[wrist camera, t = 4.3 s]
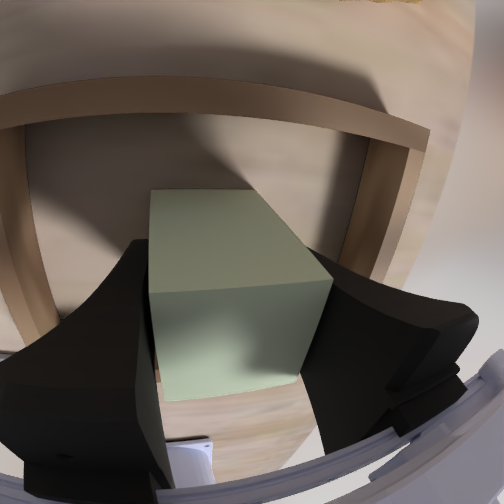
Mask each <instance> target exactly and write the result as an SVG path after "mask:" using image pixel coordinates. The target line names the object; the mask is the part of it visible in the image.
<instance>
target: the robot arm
mask: <svg viewBox="0 0 504 504" xmlns="http://www.w3.org/2000/svg"><path fill="white" fill-rule="evenodd" d="M307 248H308V247H307ZM308 250H309V251H310V252H311V253H312V254H313V255H314V257H315V258H316V259H317V260H318V261H319V262H320V264H321V265H322V266H323V267H324V268H325V269H326V271H327V272H328V273H329V274H330V275H331V276H332V278H333V283H332V286H331V289H330V292H329V294H328V297H327V300H326V303H325V306H324V309H323V312H322V315H321V317H320V320H319V323H318V326H317V328H316V331H315V334H314V336H313V339H312V342H311V344H310V347H309V349H308V352H307V355H306V357H305V360H304V362H303V365H302V367H301V370H300V374H301V376H302V379H303V382H304V385H305V387H306V390H307V393H308V396H309V399H310V402H311V405H312V408H313V412H314V415H315V418H316V421H317V425H318V428H319V432H320V436H321V440H322V444H323V448H324V452H325V456H322V457H320V458H317V459H314V460H311V461H308V462H305V463H302V464H299V465H296V466H292V467H288V468H285V469H281V470H278V471H274V472H270V473H266V474H262V475H258V476H254V477H249V478H245V479H240V480H235V481H229V482H224V483H218V484H216V482H215V479H214V476H213V472H212V469H211V464H212V445H213V442H212V439H209V438H207V439H199V440H190V441H181V442H169V443H166V442H165V437H164V431H163V426H162V420H161V413H160V407H159V400H158V392H157V385H156V374H155V340H154V332H153V325H152V317H151V308H150V299H149V239H135V240H133V241H132V242H131V243H130V245H129V246H128V248H127V250H126V251H125V253H124V254H123V256H122V257H121V258H120V260H119V261H118V263H117V264H116V265H115V267H114V268H113V269H112V271H111V272H110V273H109V275H108V276H107V277H106V278H105V280H104V281H103V282H102V283H101V284H100V286H99V287H98V288H97V289H96V290H95V291H94V292H93V294H92V295H91V296H90V297H89V298H88V299H87V300H86V301H85V302H84V303H83V304H82V305H81V306H80V307H78V308H77V309H76V310H75V311H74V312H73V313H71V314H70V315H69V316H68V317H67V318H65V319H64V320H63V321H62V322H61V323H60V324H58V325H57V326H56V327H54V328H53V329H52V330H50V331H49V332H48V333H46V334H45V335H43V336H42V337H40V338H39V339H38V340H36V341H35V342H33V343H32V344H30V345H28V346H27V347H25V348H24V349H22V350H20V351H18V352H17V353H15V354H13V355H11V356H10V357H8V358H6V359H5V360H3V361H1V362H0V442H1V443H2V444H3V445H5V446H6V447H7V448H8V449H9V450H10V451H12V452H13V453H14V454H16V456H18V457H19V458H20V459H22V460H23V461H24V479H22V478H18V477H14V476H10V475H6V474H2V473H0V504H262V503H266V502H270V501H274V500H277V499H281V498H284V497H288V496H291V495H294V494H297V493H300V492H303V491H306V490H309V489H312V488H315V487H317V486H320V485H323V484H325V483H327V482H330V481H333V480H335V479H338V478H340V477H342V476H345V475H347V474H349V473H352V472H354V471H356V470H358V469H360V468H363V467H364V466H367V465H369V464H370V463H373V462H375V461H377V460H379V459H380V458H383V457H385V456H386V455H388V454H390V453H392V452H394V451H395V450H397V449H399V448H401V447H402V446H404V445H406V444H408V443H409V442H410V444H409V445H408V446H407V447H405V448H404V449H402V450H401V451H400V452H399V453H398V454H397V455H396V456H395V457H393V458H392V459H391V460H389V461H388V462H387V463H385V464H384V465H383V466H381V467H380V468H378V469H377V470H376V471H374V472H372V473H371V474H369V476H368V477H369V479H370V481H371V482H370V483H368V484H367V485H365V486H363V487H361V488H358V489H356V490H354V491H352V492H350V493H348V494H346V495H344V496H341V497H339V498H337V499H334V500H332V501H330V502H328V503H325V504H500V503H499V501H498V500H497V496H498V495H499V494H500V493H501V492H502V490H503V489H504V350H503V349H499V350H498V351H497V352H496V353H494V354H493V355H492V356H491V357H490V358H489V359H488V360H487V361H486V362H485V363H484V364H483V366H482V367H481V368H480V370H479V371H478V373H477V374H475V375H474V376H473V377H471V378H470V379H469V380H467V381H466V382H465V383H462V381H461V380H460V379H459V377H458V376H457V375H456V374H457V373H458V372H459V371H460V368H459V366H458V365H457V364H456V363H455V362H456V361H457V359H458V358H459V356H460V355H461V354H462V352H463V351H464V349H465V348H466V347H467V345H468V344H469V342H470V341H471V339H472V338H473V336H474V334H475V332H476V330H477V328H478V324H479V317H478V316H477V315H476V314H475V313H474V312H473V311H472V310H471V309H470V308H469V307H468V306H466V305H465V304H462V303H456V302H449V301H443V300H437V299H432V298H428V297H424V296H419V295H415V294H412V293H408V292H405V291H402V290H399V289H396V288H393V287H389V286H387V285H384V284H381V283H378V282H376V281H374V280H371V279H369V278H366V277H364V276H362V275H359V274H357V273H355V272H353V271H351V270H349V269H347V268H345V267H343V266H341V265H339V264H337V263H335V262H333V261H331V260H329V259H328V258H326V257H324V256H322V255H320V254H319V253H317V252H315V251H313V250H311V249H310V248H308Z"/></svg>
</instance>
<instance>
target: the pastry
mask: <svg viewBox="0 0 504 504" xmlns="http://www.w3.org/2000/svg"><path fill="white" fill-rule="evenodd" d="M341 1H348V0H341ZM369 1H373V2H377V3H381V2H391V1H401V2H406V3H418V2H420V1H421V0H369Z"/></svg>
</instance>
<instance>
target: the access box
mask: <svg viewBox="0 0 504 504" xmlns="http://www.w3.org/2000/svg"><path fill="white" fill-rule="evenodd" d="M125 113H198V114H217V115H231V116H243V117H253V118H262V119H271V120H278V121H286V122H293V123H299V124H305V125H311V126H317V127H323V128H328V129H333V130H338V131H343V132H348V133H353V134H357V135H362V136H366V137H370V142H369V147H368V151H367V156H366V160H365V165H364V169H363V173H362V177H361V181H360V185H359V189H358V193H357V197H356V201H355V205H354V209H353V212H352V216H351V220H350V223H349V227H348V230H347V234H346V237H345V241H344V244H343V247H342V251H341V254H340V257H339V261H338V264H339V265H341V266H343V267H345V268H347V269H349V270H351V271H353V272H355V273H357V274H359V275H362V276H364V277H366V278H369V279H371V280H374V281H376V282H378V283H381V284H382V283H383V280H384V278H385V275H386V273H387V270H388V268H389V265H390V263H391V260H392V258H393V255H394V252H395V250H396V247H397V244H398V241H399V239H400V236H401V233H402V230H403V227H404V224H405V221H406V218H407V215H408V212H409V209H410V206H411V203H412V199H413V196H414V193H415V189H416V186H417V182H418V179H419V175H420V171H421V167H422V164H423V160H424V156H425V151H426V147H427V143H428V138H429V134H430V130H429V129H427V128H424V127H422V126H419V125H417V124H414V123H412V122H409V121H406V120H404V119H401V118H398V117H395V116H392V115H389V114H386V113H383V112H380V111H377V110H374V109H371V108H367V107H364V106H361V105H357V104H354V103H350V102H346V101H343V100H339V99H335V98H331V97H327V96H323V95H318V94H314V93H309V92H304V91H299V90H294V89H289V88H284V87H278V86H272V85H265V84H259V83H251V82H244V81H235V80H225V79H214V78H200V77H178V76H136V77H114V78H101V79H90V80H81V81H73V82H66V83H59V84H53V85H47V86H41V87H36V88H31V89H26V90H22V91H17V92H13V93H9V94H5V95H1V96H0V289H1V291H2V294H3V296H4V299H5V301H6V304H7V306H8V309H9V311H10V313H11V316H12V318H13V320H14V322H15V325H16V327H17V329H18V331H19V333H20V335H21V337H22V339H23V341H24V343H25V345H26V347H27V346H28V345H30V344H32V343H33V342H35V341H36V340H38V339H39V338H40V337H42V336H43V335H45V334H46V333H48V332H49V331H50V330H52V329H53V328H54V327H56V326H57V325H58V324H60V323H61V320H60V318H59V315H58V312H57V309H56V306H55V303H54V300H53V297H52V294H51V290H50V287H49V284H48V280H47V277H46V273H45V269H44V266H43V262H42V258H41V254H40V249H39V245H38V240H37V236H36V231H35V226H34V220H33V215H32V209H31V202H30V195H29V188H28V179H27V169H26V157H25V138H24V125H25V124H31V123H37V122H43V121H49V120H57V119H64V118H73V117H82V116H93V115H107V114H125ZM155 374H156V382H161V377H160V372H159V366H158V359H157V353H156V346H155Z"/></svg>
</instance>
